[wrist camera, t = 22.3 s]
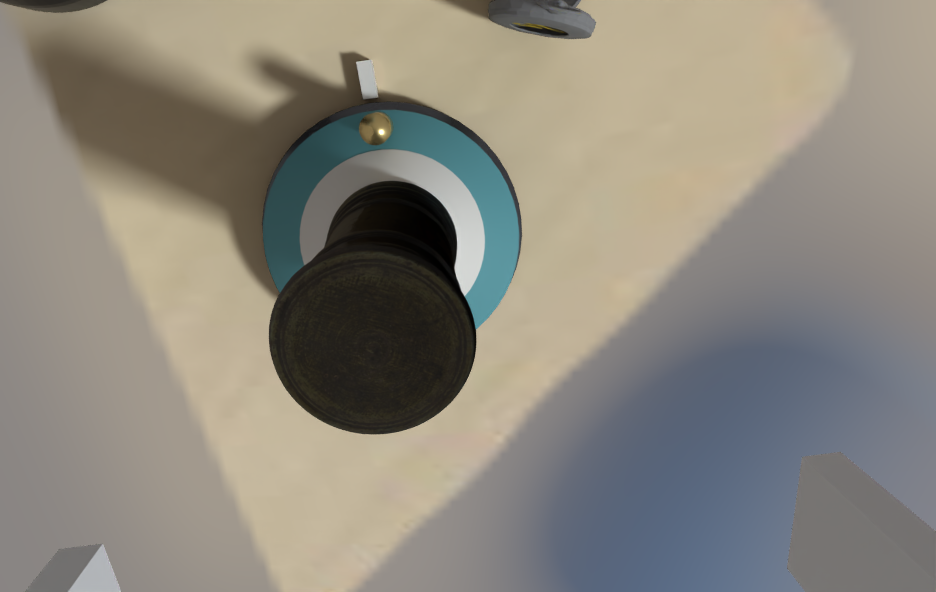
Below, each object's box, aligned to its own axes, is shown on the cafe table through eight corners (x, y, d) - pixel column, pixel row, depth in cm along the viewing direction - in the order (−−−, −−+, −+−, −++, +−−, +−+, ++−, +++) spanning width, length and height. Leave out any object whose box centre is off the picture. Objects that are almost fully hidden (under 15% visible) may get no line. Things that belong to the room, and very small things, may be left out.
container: (335, 306, 41) (275, 453, 24) (321, 182, 38) (241, 247, 21) (458, 300, 41) (486, 439, 24) (454, 177, 38) (482, 237, 21)
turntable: (520, 338, 44) (535, 373, 39) (292, 360, 43) (273, 399, 38) (510, 99, 38) (526, 99, 33) (245, 120, 37) (214, 123, 32)
